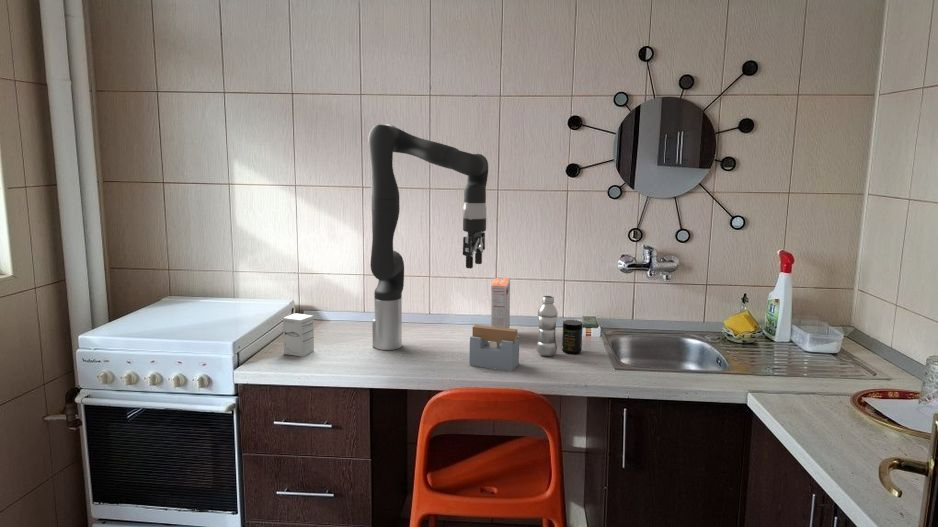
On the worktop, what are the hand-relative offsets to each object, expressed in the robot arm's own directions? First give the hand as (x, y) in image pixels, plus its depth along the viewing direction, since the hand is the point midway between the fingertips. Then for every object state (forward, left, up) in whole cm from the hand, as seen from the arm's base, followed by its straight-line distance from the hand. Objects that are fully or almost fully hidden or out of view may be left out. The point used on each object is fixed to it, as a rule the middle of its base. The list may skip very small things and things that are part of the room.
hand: (473, 266), depth 224 cm
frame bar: (+10, -7, -22) cm, 25 cm away
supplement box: (-54, -21, -30) cm, 65 cm away
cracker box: (+2, +23, -30) cm, 38 cm away
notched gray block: (+10, -7, -30) cm, 32 cm away
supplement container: (+30, +16, -30) cm, 46 cm away
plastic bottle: (+23, +9, -30) cm, 39 cm away
